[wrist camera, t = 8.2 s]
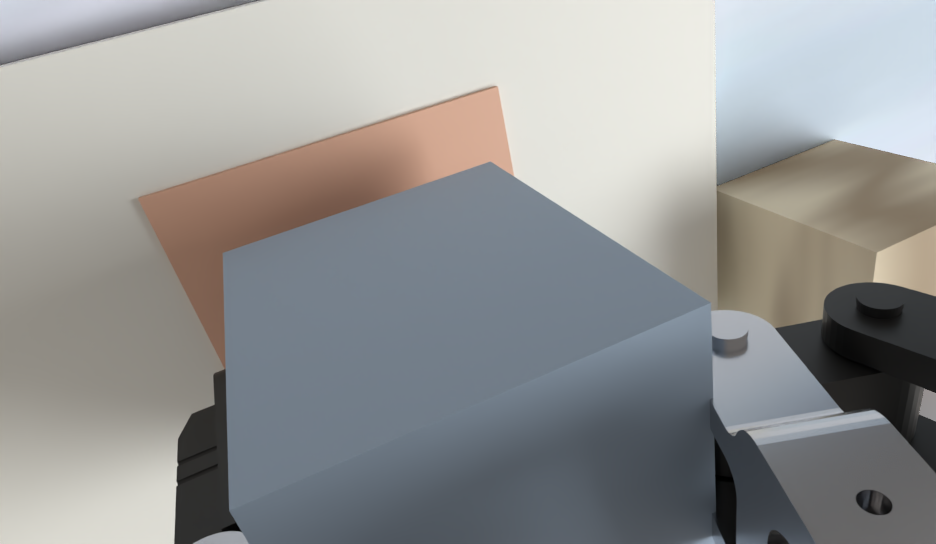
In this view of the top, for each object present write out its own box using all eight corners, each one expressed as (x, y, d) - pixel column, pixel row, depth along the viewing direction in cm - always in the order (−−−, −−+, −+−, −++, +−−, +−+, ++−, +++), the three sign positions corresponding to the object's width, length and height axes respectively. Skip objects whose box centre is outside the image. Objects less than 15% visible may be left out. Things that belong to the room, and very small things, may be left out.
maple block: (833, 139, 18) (1023, 184, 14) (821, 268, 20) (984, 341, 16) (710, 187, 17) (877, 252, 13) (712, 318, 19) (855, 410, 15)
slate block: (490, 161, 11) (710, 302, 6) (533, 369, 14) (717, 592, 9) (222, 253, 10) (228, 510, 5) (319, 460, 13) (388, 774, 8)
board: (681, -106, 13) (717, -113, 12) (695, 335, 19) (720, 353, 18) (-318, 144, 9) (-377, 162, 8) (89, 615, 15) (81, 658, 14)
